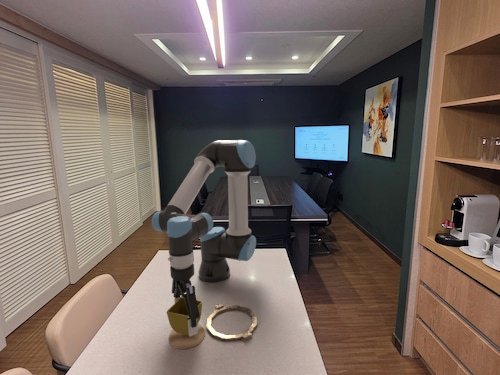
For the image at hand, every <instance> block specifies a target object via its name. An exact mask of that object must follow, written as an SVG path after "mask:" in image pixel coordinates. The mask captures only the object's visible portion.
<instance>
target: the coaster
mask: <svg viewBox="0 0 500 375" xmlns="http://www.w3.org/2000/svg"><path fill="white" fill-rule="evenodd" d="M197 329H198V333H197V334H195V335H193V336H189V335H184V334H180V333H177V332H175V331H174V330H173V329H172V330H171V331H170V332H169V336H168V341H169V342H168V343H169V344H170V346H171V347H173V348H175V349H177V350H188V349H193V348H195V347H197V346H198V345H200V344H201V343H202V342H203V340H204V338H205V336H206V331H205V328H204V326H202V325H201V324H199V323H198V324H197Z"/></svg>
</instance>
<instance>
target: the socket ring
mask: <svg viewBox="0 0 500 375" xmlns="http://www.w3.org/2000/svg"><path fill="white" fill-rule="evenodd" d="M228 311H239V312H240V311H241V312H242V313H243V312H244V313H246V314H247V315H248V316H250V318H251V320H252V324H251V325H250V326H249V328H248V329H246V330H244V331H242V332H240V333H238V334H229V335H227V334H224V333H221V332H217V331H216V330H215V329H214V328H213V326H212V323H213V322H212V321H213V320H214V319H215V318H216V317H217V316H218V315H220V314H222V313H224V312H228ZM206 319H207V320H206V331H208V333H209V334H210V335H211V337H213V338H215V339H217V340H220V341H223V342H233V341H234V342H235V341H241V340H242V341H243V342H244V343H245V342H247V341H249V340H251V339H252V338H253V336H252V334H253V332H254V331H255V330H256V329H257V326H258V320H257V314H256V313H255V312H254V311H253V310H251V309H250V307H245V306H243V305H238V304H237V305H236V304H234V305H225V306H224V304H223V303H219V304H216V305H214V310H213V312H211V314H210V315H209V316H208V317H207V318H206Z"/></svg>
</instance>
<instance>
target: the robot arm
mask: <svg viewBox="0 0 500 375" xmlns="http://www.w3.org/2000/svg"><path fill="white" fill-rule="evenodd" d="M256 161H257V156H256V150H255V147H254V145H253V144H252V143H251V142H250V141H249V140H245V139H244V140H243V139H233V140H219V139H218V140H215V141H213V142H211V143H209V144H208V145H206V146H205V147H204V148H202V149H201V151H199V153H198V154H197V155H196V156H195V158H194V160H193V163H194V164H193V165H192V167H191V169H190V170H189V172H188V173H187V175H186V176H185V178H184V179H183V181H182V183H181V184H179V185H180V186H179V187H178V188H177V190H176V192H175V193H174V194H173V196H172V198H171V199H170V201H169V202H168V204H167V205H166V206H165V208H164V210H158V211H156V212H155V213H153V215H152V217H151V227H152V228H153V229H154V231H157V232H161V233H164V234H165V233H166V235H167V242H168V243H167V244H168V254H169V257H168V258H167V260H168V261H169V265H170V266H169V267H170V268H169V269H170V278H171V279H172V283H171V284H172V286H171V294H173V297H174V304H175V303H176V302H177V301H178V299H179V298H181V297H183V298H184V300H185V304H186V308H187V311H188V315H189V317H188V318H187V320H188V329H189V336H193V335H195V334H197V333H198V329H197V318H200V315H199V310H198V305H197V300H198V299H197V295H196V287H195V285H192V281H191V278H192V277H193V276H194V275H195V264H194V263H195V262H194V261H195V259H194V258H195V257H194V248H193V247H194V246H193V245H194V244H193V242H194V241H197V240H198V239H200V240H199V242H200V254H201V256H200V257H201V262H200V265H199V269H198V278H199V279H200V280H201V281H203V282H206V283H217V282H221V281H224V280H226V279H227V278H229V277H230V276H231V270H230V269H231V268H230V266H229V264H228V262H227V259H230V260H234V261H235V260H236V261H239V262H240V261H242V262H248V261H250V260H251V259H252V257H253V255H254V253H255V251H256V246H257V238H256V236H254V235H252V229H251V228H250V227H249V208H248V207H249V201H248V200H249V199H248V198H249V197H248V196H249V193H248V192H249V191H248V190H249V189H248V187H249V186H248V183H249V182H248V176H249V174H251V172H252V168H254V167H255V165H256ZM218 167H221V168H224V173H225V174H226V175H227V186H228V187H227V191H228V192H227V193H228V196H227V197H228V228H227V229H226V230H225V227H223V226H214V220H213V217H212V216H211V215H210V214H209V213H207V212H200V213H197V214H189V213H187V212H188V211H189V209H190V207H191V205H192V204H193V202H194V201H195V198H196V197H197V195H198V194H199V192H200V190H201V188H202V187H203V185H204V183H205V181H206V180H207V178H208V177H209V175H210V174H211V173H213V172H214V171H215V169H216V168H218ZM200 319H201V318H200Z"/></svg>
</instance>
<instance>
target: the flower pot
mask: <svg viewBox="0 0 500 375" xmlns="http://www.w3.org/2000/svg"><path fill="white" fill-rule="evenodd" d="M180 297H181V296H180ZM196 300H197V305H198V310H199V315H200V318H197V324H199V323H200V321H201V316H202V310H203V301H202V300H198V299H196ZM166 314H167V315H166V316H167V320H168V322H169V326H170V327H171V328H172V331H173V330H174V331H175V332H177V333H180V334H184V335H189V329H188V320H187V318H188V317H189V315H188V311H187V308H186V304H185V300H184V298H183V297H181V298H179V299H178V301H177V302H176V303H175V302H174V304H173V305H171V307H169V308H168V309H167V310H166Z"/></svg>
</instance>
